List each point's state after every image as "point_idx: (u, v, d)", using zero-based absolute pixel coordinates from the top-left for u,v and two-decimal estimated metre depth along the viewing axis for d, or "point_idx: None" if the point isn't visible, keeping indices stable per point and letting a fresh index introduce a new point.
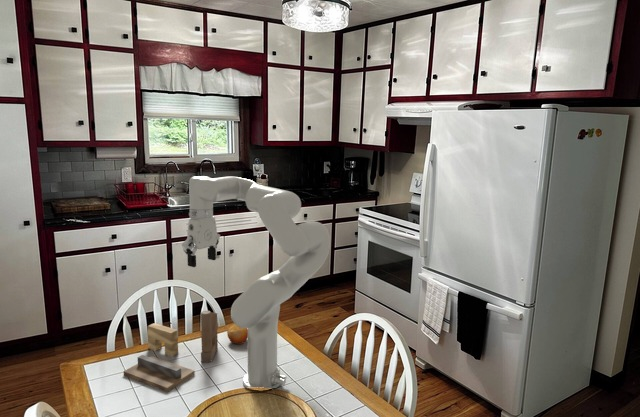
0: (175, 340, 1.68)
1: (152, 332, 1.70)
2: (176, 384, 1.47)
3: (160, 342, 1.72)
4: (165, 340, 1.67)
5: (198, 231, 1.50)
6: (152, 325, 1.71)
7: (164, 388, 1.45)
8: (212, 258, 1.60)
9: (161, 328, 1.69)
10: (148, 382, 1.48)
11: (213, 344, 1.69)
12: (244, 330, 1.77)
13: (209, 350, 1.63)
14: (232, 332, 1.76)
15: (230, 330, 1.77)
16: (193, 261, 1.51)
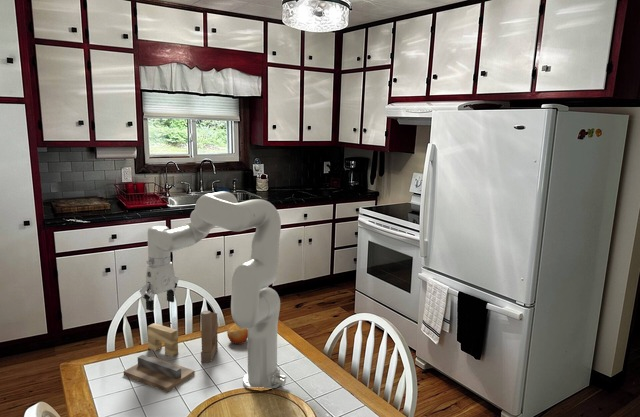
0: (175, 340, 1.68)
1: (152, 332, 1.70)
2: (176, 384, 1.47)
3: (160, 342, 1.72)
4: (165, 340, 1.67)
5: (155, 278, 1.61)
6: (152, 325, 1.71)
7: (164, 388, 1.45)
8: (171, 300, 1.72)
9: (161, 328, 1.69)
10: (148, 382, 1.48)
11: (213, 344, 1.69)
12: (244, 330, 1.77)
13: (209, 350, 1.63)
14: (232, 332, 1.76)
15: (230, 330, 1.77)
16: (151, 305, 1.63)
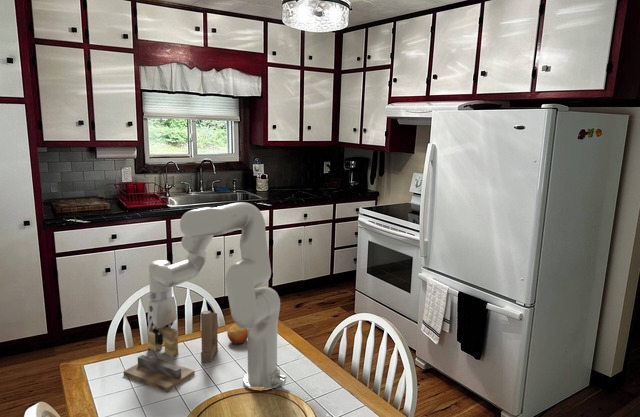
0: (175, 340, 1.68)
1: (152, 332, 1.70)
2: (176, 384, 1.47)
3: None
4: (165, 340, 1.67)
5: (157, 313, 1.63)
6: None
7: (164, 388, 1.45)
8: None
9: (161, 328, 1.69)
10: (148, 382, 1.48)
11: (213, 344, 1.69)
12: (244, 330, 1.77)
13: (209, 350, 1.63)
14: (232, 332, 1.76)
15: (230, 330, 1.77)
16: (160, 339, 1.68)
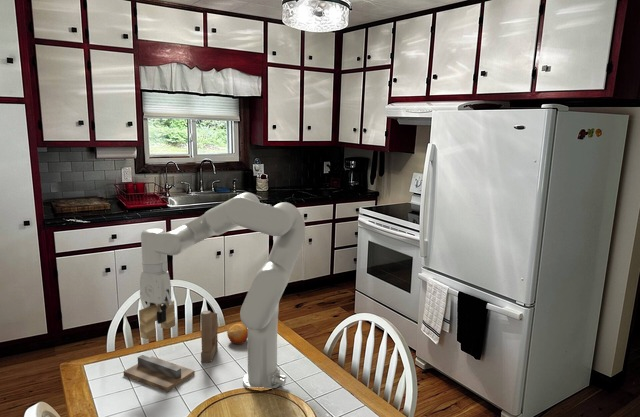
0: (143, 322, 1.46)
1: None
2: (176, 384, 1.47)
3: (165, 322, 1.54)
4: None
5: (140, 282, 1.49)
6: None
7: (164, 388, 1.45)
8: None
9: (155, 305, 1.51)
10: (148, 382, 1.48)
11: (213, 344, 1.69)
12: (244, 330, 1.77)
13: (209, 350, 1.63)
14: (232, 332, 1.76)
15: (230, 330, 1.77)
16: None
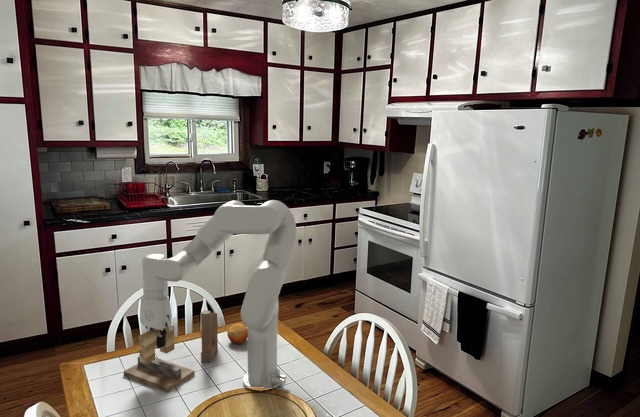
0: (143, 347, 1.47)
1: None
2: (176, 384, 1.47)
3: (164, 346, 1.54)
4: None
5: (140, 307, 1.50)
6: None
7: (164, 388, 1.45)
8: None
9: (155, 329, 1.52)
10: (148, 382, 1.48)
11: (213, 344, 1.69)
12: (244, 330, 1.77)
13: (209, 350, 1.63)
14: (232, 332, 1.76)
15: (230, 330, 1.77)
16: None
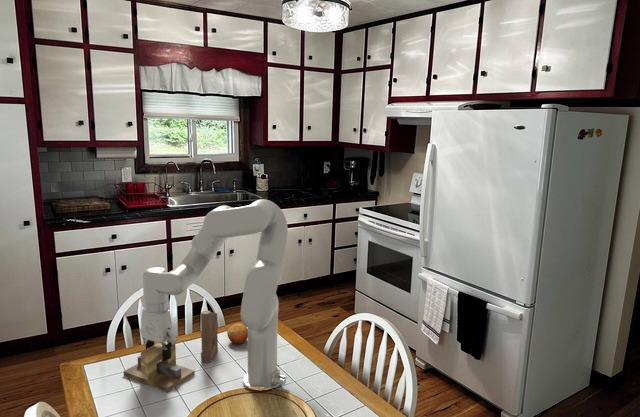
0: (145, 363, 1.47)
1: None
2: (176, 384, 1.47)
3: (166, 361, 1.55)
4: None
5: (141, 320, 1.51)
6: None
7: (164, 388, 1.45)
8: None
9: (157, 345, 1.52)
10: (148, 382, 1.48)
11: (213, 344, 1.69)
12: (244, 330, 1.77)
13: (209, 350, 1.63)
14: (232, 332, 1.76)
15: (230, 330, 1.77)
16: None
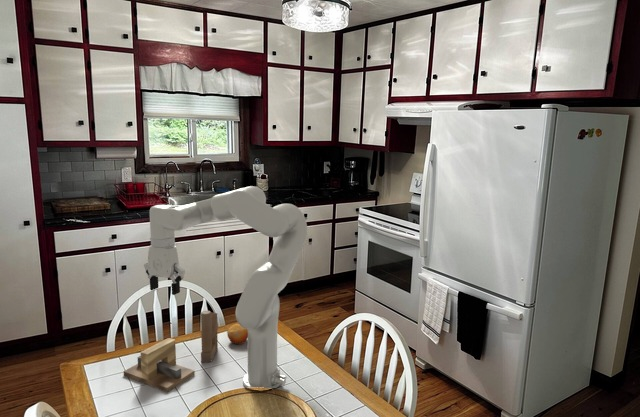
0: (145, 363, 1.47)
1: None
2: (176, 384, 1.47)
3: (166, 361, 1.55)
4: None
5: (148, 257, 1.54)
6: (168, 339, 1.57)
7: (164, 388, 1.45)
8: None
9: (157, 345, 1.52)
10: (148, 382, 1.48)
11: (213, 344, 1.69)
12: (244, 330, 1.77)
13: (209, 350, 1.63)
14: (232, 332, 1.76)
15: (230, 330, 1.77)
16: None
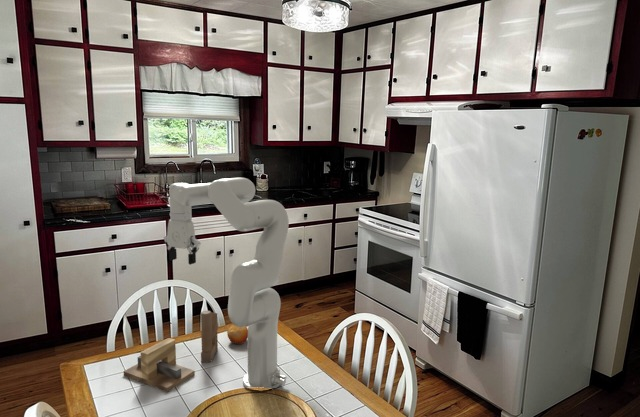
0: (145, 363, 1.47)
1: None
2: (176, 384, 1.47)
3: (166, 361, 1.55)
4: None
5: None
6: (168, 339, 1.57)
7: (164, 388, 1.45)
8: None
9: (157, 345, 1.52)
10: (148, 382, 1.48)
11: (213, 344, 1.69)
12: (244, 330, 1.77)
13: (209, 350, 1.63)
14: (232, 332, 1.76)
15: (230, 330, 1.77)
16: None
